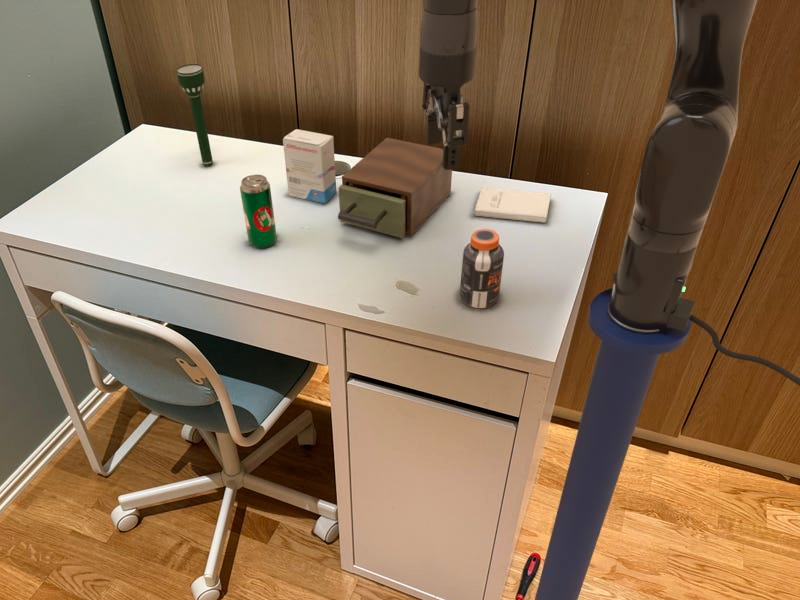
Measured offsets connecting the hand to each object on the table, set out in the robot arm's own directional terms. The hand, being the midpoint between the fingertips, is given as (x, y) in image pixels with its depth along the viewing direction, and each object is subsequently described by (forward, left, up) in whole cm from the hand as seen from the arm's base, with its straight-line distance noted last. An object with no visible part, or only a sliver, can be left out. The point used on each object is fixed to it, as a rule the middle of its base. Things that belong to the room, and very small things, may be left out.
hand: (441, 155), depth 106 cm
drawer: (+14, -7, -18) cm, 24 cm away
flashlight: (+58, -11, -19) cm, 62 cm away
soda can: (+30, +8, -19) cm, 36 cm away
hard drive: (-5, -21, -19) cm, 28 cm away
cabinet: (+14, -13, -19) cm, 26 cm away
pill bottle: (-10, +6, -19) cm, 22 cm away
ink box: (+31, -10, -19) cm, 37 cm away
